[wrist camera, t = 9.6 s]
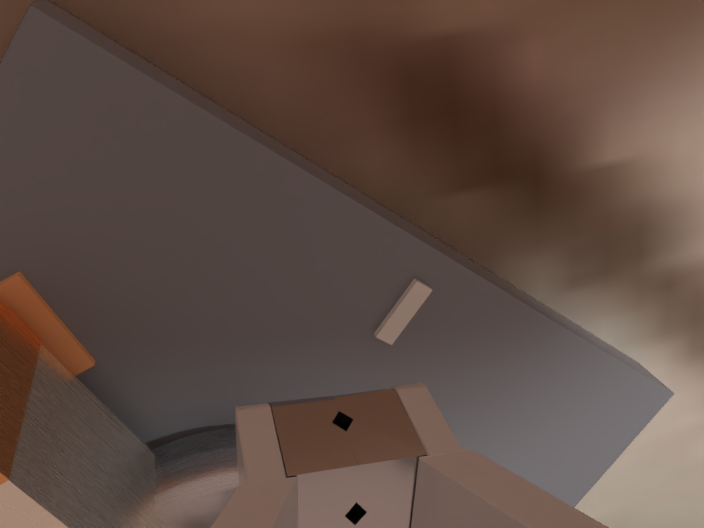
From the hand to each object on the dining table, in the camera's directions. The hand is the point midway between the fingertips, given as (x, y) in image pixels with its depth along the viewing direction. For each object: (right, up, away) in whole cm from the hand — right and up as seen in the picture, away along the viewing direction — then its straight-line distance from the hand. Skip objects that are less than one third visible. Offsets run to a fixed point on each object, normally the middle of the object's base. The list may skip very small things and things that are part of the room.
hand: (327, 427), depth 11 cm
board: (-4, -6, +12) cm, 14 cm away
